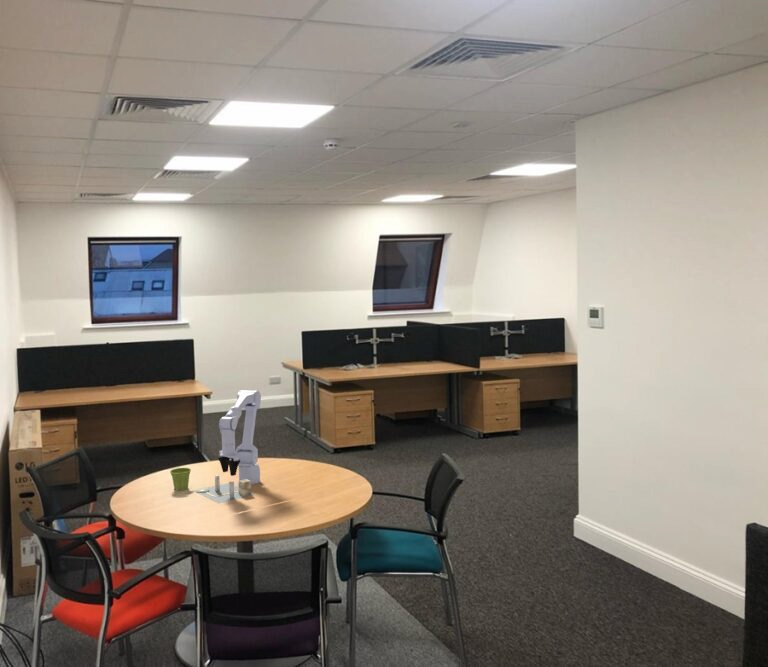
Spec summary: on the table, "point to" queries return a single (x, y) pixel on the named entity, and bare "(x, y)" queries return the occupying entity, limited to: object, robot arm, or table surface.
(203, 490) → the pad
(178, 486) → the plant pot
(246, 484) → the block
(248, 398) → the robot arm
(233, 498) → the board
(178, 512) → the table surface
